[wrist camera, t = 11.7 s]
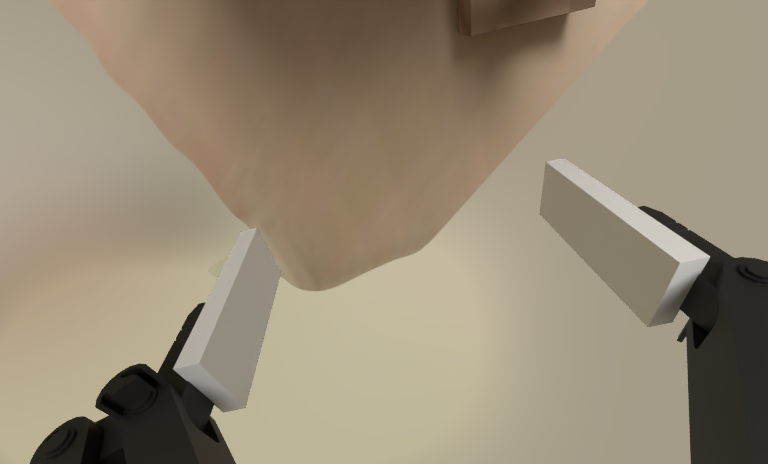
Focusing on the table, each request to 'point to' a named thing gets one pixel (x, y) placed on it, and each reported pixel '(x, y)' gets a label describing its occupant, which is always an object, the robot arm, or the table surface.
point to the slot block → (511, 13)
